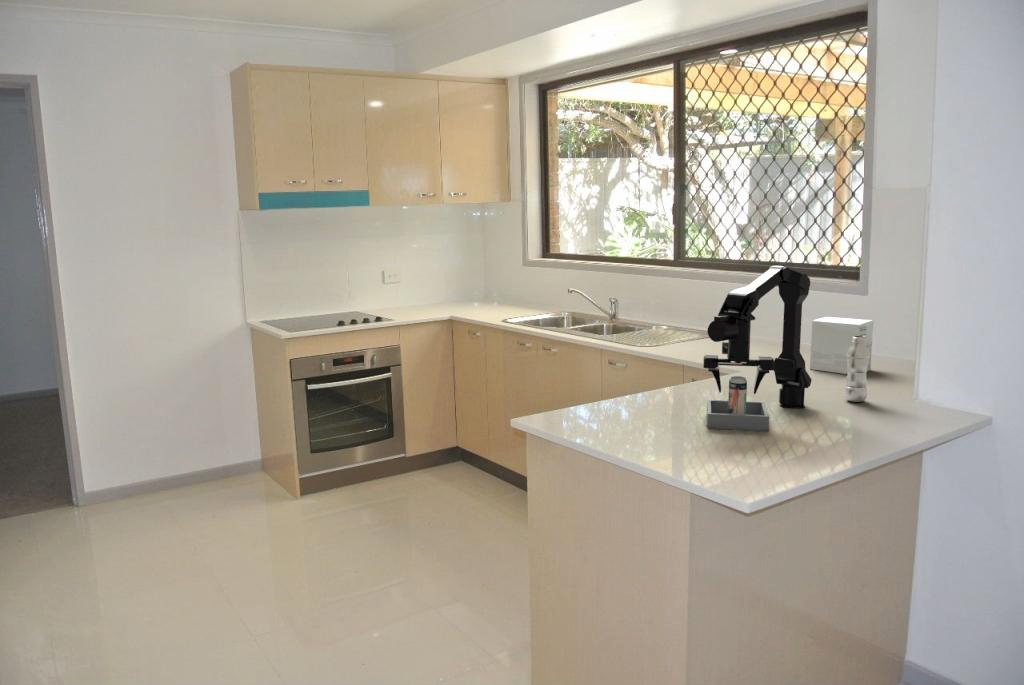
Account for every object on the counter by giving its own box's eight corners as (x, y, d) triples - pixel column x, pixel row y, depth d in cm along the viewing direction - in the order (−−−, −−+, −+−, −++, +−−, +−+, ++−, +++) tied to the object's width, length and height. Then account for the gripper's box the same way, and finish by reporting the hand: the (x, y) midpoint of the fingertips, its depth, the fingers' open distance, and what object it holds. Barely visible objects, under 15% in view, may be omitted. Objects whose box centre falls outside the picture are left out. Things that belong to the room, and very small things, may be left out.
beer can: (725, 417, 227) (726, 376, 225) (741, 417, 228) (743, 375, 226) (731, 422, 223) (732, 380, 221) (748, 421, 223) (749, 379, 221)
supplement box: (871, 370, 288) (874, 319, 285) (857, 376, 279) (860, 324, 276) (823, 363, 300) (826, 315, 297) (808, 369, 291) (811, 319, 287)
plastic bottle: (867, 399, 247) (871, 335, 243) (866, 405, 241) (870, 339, 237) (844, 398, 249) (848, 334, 246) (843, 403, 243) (847, 337, 240)
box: (764, 415, 231) (764, 401, 230) (768, 431, 216) (769, 416, 215) (706, 412, 235) (707, 399, 234) (707, 428, 219) (707, 413, 219)
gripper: (772, 333, 227) (770, 387, 230) (704, 332, 231) (702, 385, 234) (776, 340, 216) (773, 397, 219) (704, 338, 220) (702, 394, 223)
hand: (737, 393), depth 224 cm, fingers open, 9 cm apart
